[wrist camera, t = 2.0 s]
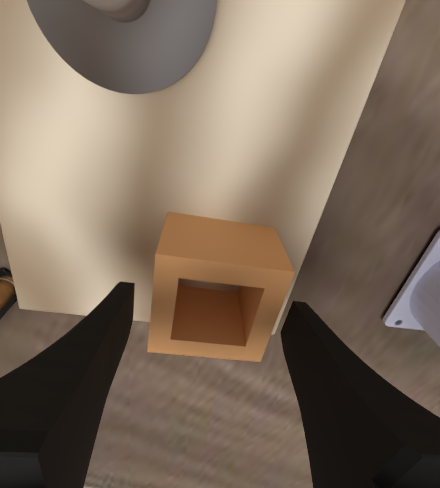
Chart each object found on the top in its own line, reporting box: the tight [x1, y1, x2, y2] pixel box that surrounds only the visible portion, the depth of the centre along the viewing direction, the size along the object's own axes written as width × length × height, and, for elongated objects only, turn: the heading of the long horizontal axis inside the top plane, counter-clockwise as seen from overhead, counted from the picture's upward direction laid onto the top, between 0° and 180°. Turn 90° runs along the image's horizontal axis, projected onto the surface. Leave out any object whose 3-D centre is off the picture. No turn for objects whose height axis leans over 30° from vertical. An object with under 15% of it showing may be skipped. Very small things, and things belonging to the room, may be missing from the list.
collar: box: [147, 212, 295, 362], centre depth 14 cm, size 6×6×4 cm
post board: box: [0, 0, 406, 335], centre depth 11 cm, size 16×22×7 cm
